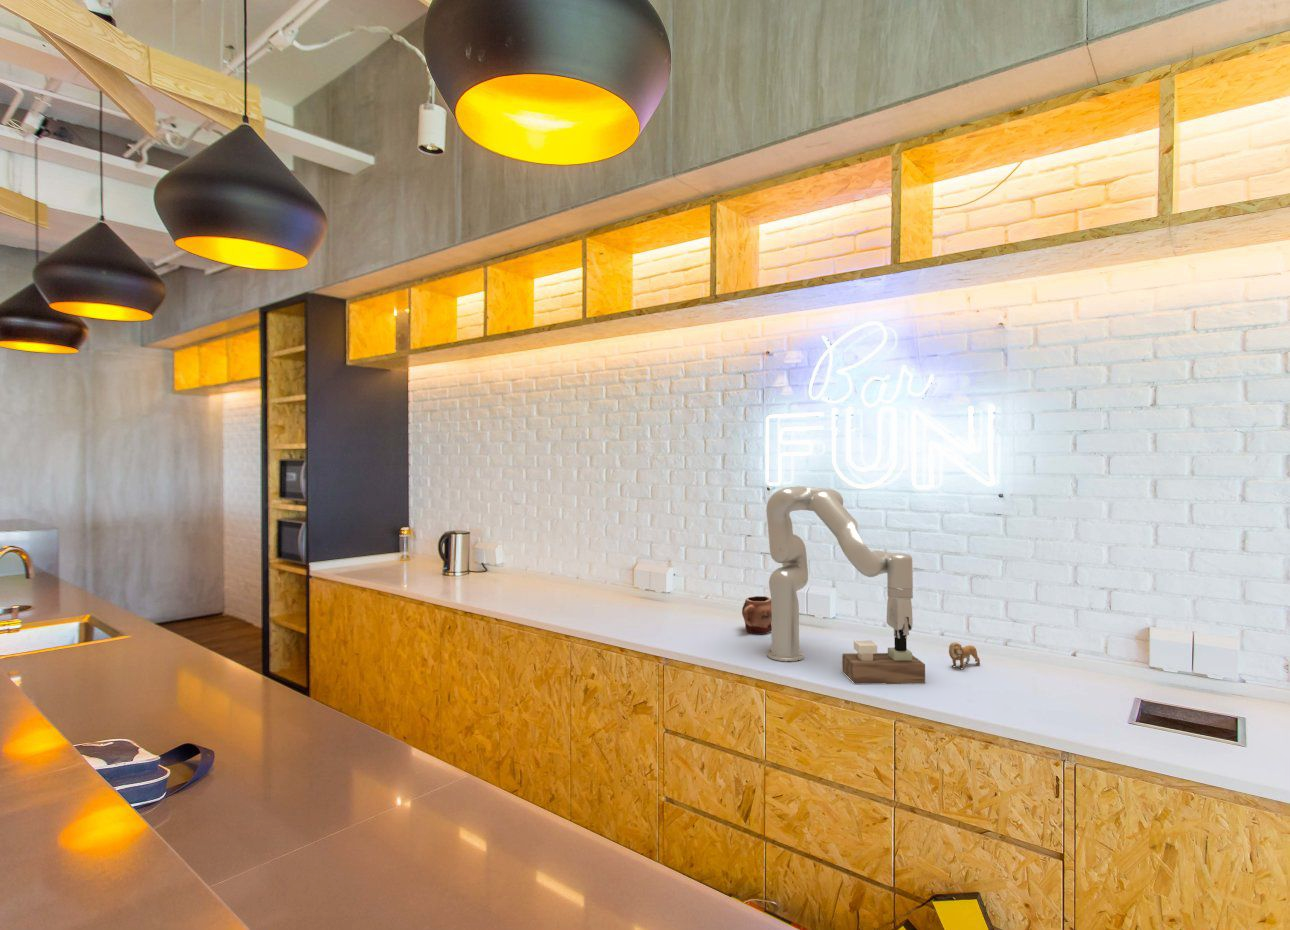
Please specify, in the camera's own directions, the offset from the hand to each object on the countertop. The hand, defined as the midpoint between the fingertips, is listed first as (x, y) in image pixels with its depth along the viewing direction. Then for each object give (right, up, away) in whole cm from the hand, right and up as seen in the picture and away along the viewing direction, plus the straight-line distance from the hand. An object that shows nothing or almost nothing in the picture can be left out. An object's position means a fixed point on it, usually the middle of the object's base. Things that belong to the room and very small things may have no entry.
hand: (900, 650), depth 211 cm
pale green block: (0, -7, 0) cm, 7 cm away
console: (-6, -9, 0) cm, 10 cm away
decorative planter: (-36, -9, +56) cm, 67 cm away
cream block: (-11, -5, 0) cm, 12 cm away
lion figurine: (+25, -9, +10) cm, 29 cm away
